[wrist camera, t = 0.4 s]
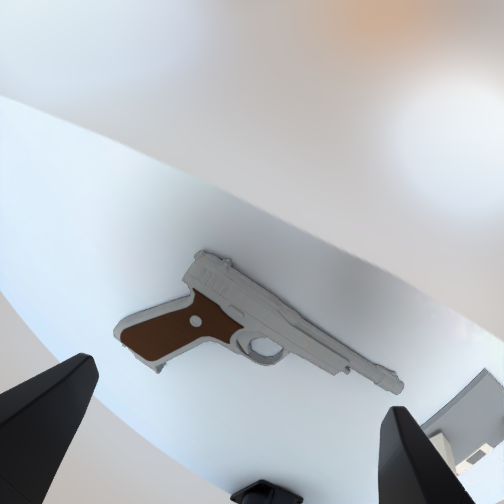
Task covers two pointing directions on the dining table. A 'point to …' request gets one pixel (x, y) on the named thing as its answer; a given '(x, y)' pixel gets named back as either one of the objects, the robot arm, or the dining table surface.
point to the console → (471, 421)
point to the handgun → (236, 325)
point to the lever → (444, 450)
